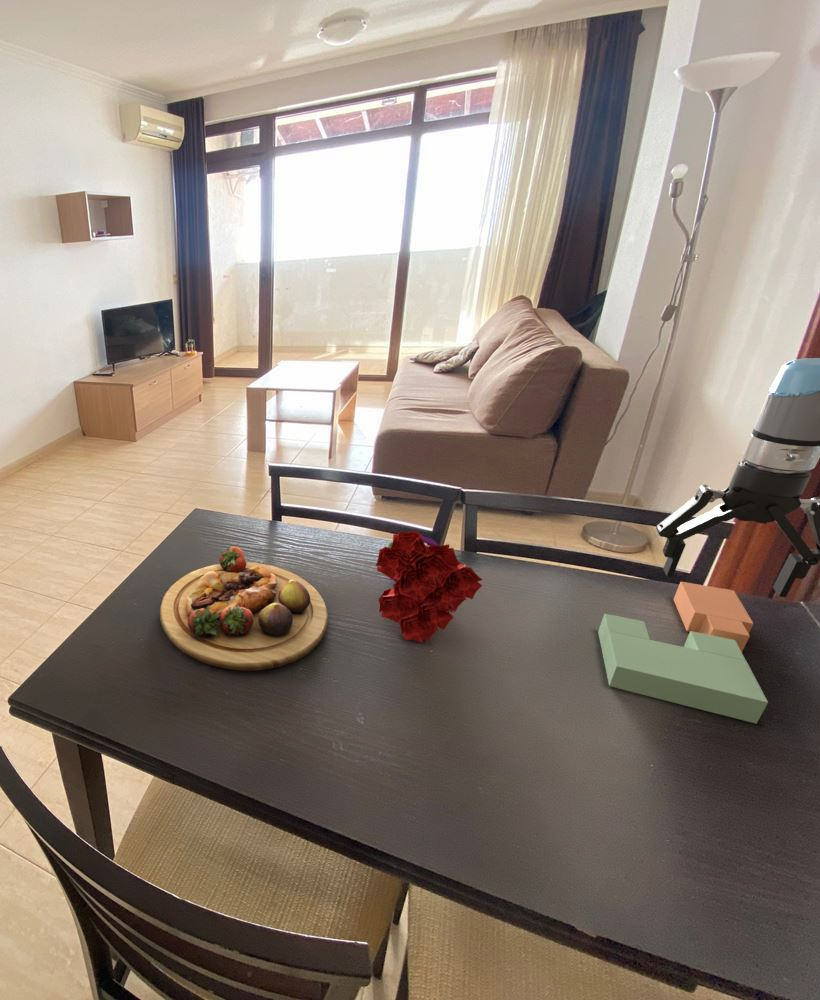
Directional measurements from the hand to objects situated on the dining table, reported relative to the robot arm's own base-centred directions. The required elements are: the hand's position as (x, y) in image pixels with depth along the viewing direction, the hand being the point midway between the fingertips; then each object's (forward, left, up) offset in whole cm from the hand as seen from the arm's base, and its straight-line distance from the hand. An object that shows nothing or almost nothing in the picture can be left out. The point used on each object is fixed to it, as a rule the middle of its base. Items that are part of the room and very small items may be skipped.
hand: (721, 582), depth 90 cm
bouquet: (+46, +12, -8) cm, 48 cm away
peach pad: (0, +2, -8) cm, 8 cm away
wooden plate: (+73, +32, -8) cm, 80 cm away
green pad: (+8, +18, -8) cm, 21 cm away
